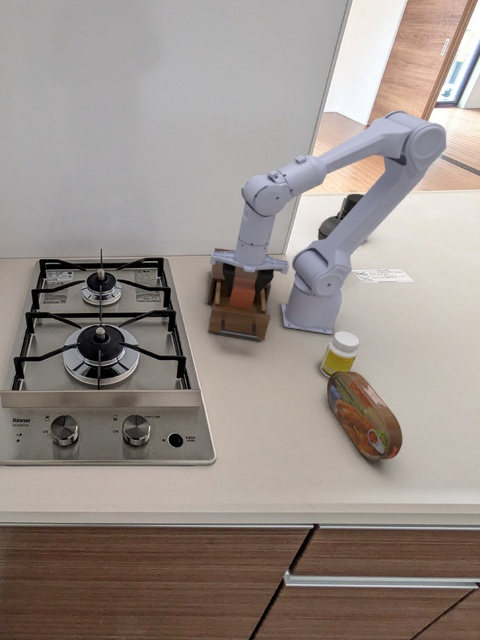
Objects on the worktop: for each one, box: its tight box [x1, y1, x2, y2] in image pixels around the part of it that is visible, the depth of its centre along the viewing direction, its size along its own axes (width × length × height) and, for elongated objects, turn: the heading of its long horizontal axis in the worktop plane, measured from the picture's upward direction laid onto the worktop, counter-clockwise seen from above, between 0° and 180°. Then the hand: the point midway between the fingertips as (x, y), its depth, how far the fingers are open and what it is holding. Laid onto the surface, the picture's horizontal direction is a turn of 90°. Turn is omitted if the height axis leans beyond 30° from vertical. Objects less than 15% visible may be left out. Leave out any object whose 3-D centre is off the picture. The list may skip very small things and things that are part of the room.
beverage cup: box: [317, 197, 347, 240], centre depth 105 cm, size 7×7×20 cm
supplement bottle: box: [319, 330, 360, 379], centre depth 80 cm, size 5×5×8 cm
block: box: [229, 277, 255, 309], centre depth 90 cm, size 4×4×4 cm
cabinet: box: [207, 247, 272, 306], centre depth 102 cm, size 13×12×7 cm
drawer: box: [207, 281, 271, 343], centre depth 91 cm, size 17×11×6 cm, turn 165°
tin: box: [326, 371, 403, 462], centre depth 69 cm, size 15×3×8 cm, turn 5°
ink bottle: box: [335, 193, 365, 218], centre depth 123 cm, size 10×9×12 cm
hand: (241, 296), depth 90 cm, fingers closed on block, 4 cm apart
